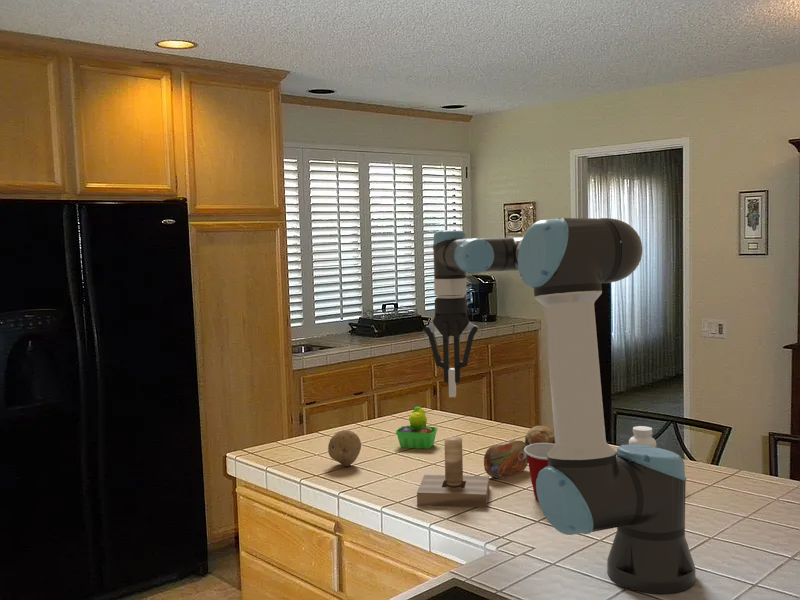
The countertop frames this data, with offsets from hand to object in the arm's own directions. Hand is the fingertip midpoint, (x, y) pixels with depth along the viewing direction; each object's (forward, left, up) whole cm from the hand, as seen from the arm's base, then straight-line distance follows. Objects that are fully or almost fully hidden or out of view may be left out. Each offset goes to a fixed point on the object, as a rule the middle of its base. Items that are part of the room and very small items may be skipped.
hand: (452, 396), depth 187 cm
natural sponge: (+23, +32, -25) cm, 47 cm away
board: (0, 0, -24) cm, 24 cm away
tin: (+19, -12, -25) cm, 33 cm away
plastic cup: (0, -22, -25) cm, 33 cm away
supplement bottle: (+18, -46, -25) cm, 55 cm away
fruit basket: (+46, +15, -25) cm, 54 cm away
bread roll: (+48, -22, -25) cm, 58 cm away
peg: (0, 0, -24) cm, 24 cm away
